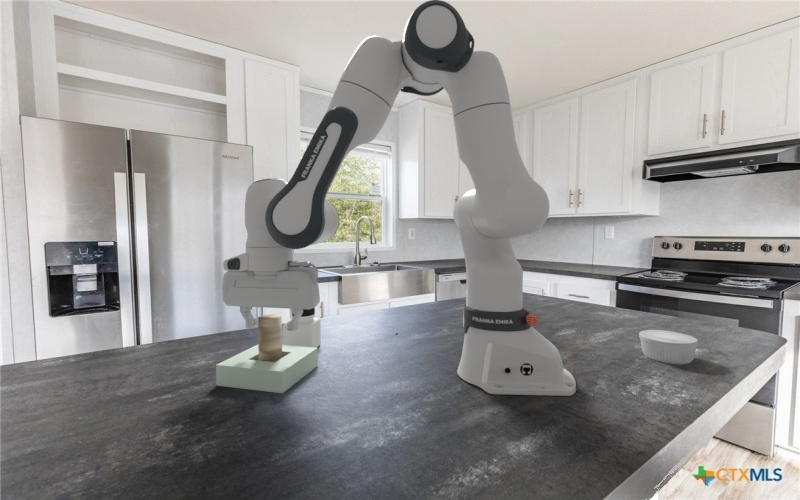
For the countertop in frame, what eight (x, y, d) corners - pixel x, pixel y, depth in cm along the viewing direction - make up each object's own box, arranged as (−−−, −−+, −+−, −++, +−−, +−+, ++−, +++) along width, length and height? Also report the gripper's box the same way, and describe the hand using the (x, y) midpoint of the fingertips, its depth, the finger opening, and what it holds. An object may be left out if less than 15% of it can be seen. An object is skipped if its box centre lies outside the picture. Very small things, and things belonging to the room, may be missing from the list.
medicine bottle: (321, 344, 95) (320, 298, 94) (311, 353, 88) (311, 304, 87) (294, 343, 95) (293, 298, 95) (283, 352, 88) (282, 303, 88)
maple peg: (286, 372, 76) (285, 315, 76) (274, 380, 72) (273, 320, 71) (267, 370, 77) (266, 313, 77) (254, 378, 73) (253, 318, 72)
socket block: (317, 365, 80) (317, 347, 79) (282, 393, 66) (282, 371, 66) (260, 360, 83) (260, 343, 83) (216, 385, 69) (216, 364, 69)
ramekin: (644, 362, 83) (645, 339, 83) (633, 348, 93) (634, 327, 93) (705, 369, 79) (706, 345, 78) (687, 353, 89) (688, 332, 89)
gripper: (324, 260, 74) (325, 327, 75) (237, 259, 79) (239, 322, 80) (309, 262, 68) (311, 336, 69) (215, 261, 73) (218, 330, 74)
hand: (271, 328), depth 74 cm, fingers open, 8 cm apart
